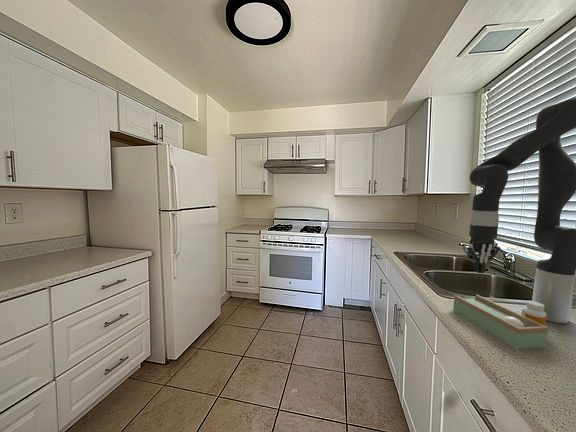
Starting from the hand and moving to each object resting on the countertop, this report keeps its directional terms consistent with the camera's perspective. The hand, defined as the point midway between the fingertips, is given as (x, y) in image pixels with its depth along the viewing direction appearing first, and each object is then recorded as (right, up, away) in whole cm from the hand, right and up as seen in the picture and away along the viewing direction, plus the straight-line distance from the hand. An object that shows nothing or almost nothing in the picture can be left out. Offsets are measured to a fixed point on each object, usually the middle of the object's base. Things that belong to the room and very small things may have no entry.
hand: (479, 272), depth 84 cm
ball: (+1, -14, -11) cm, 18 cm away
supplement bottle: (+10, -18, -8) cm, 22 cm away
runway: (0, -17, -5) cm, 18 cm away
